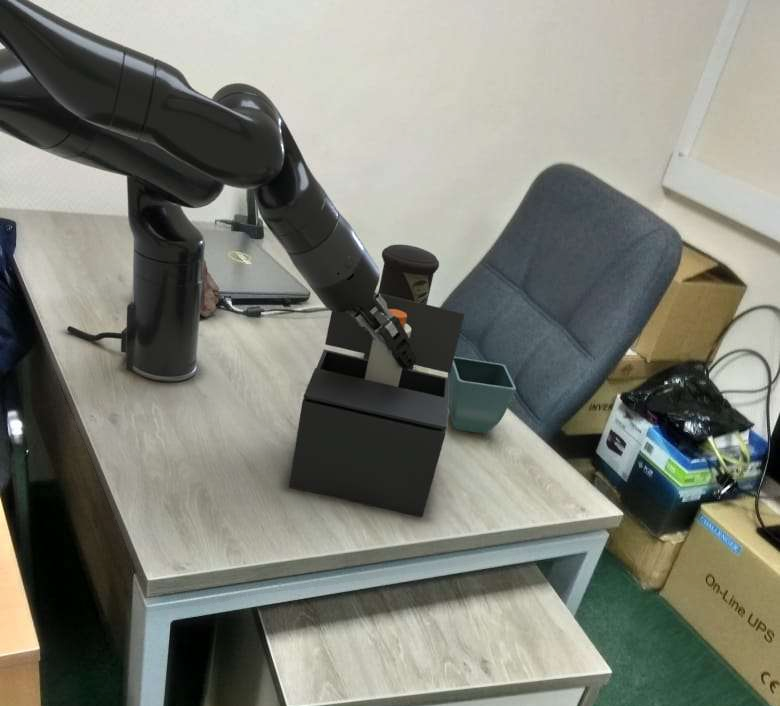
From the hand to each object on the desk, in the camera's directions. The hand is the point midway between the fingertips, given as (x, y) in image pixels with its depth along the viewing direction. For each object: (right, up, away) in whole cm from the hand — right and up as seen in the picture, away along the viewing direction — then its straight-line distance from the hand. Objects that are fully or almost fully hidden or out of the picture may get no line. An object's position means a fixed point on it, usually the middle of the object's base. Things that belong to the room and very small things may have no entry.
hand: (400, 355), depth 102 cm
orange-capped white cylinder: (-3, -4, +1) cm, 5 cm away
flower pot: (+11, -6, +21) cm, 25 cm away
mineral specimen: (-38, +16, +36) cm, 55 cm away
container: (-2, +4, +32) cm, 33 cm away
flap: (-1, +4, +3) cm, 5 cm away
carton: (-5, -14, +4) cm, 16 cm away
